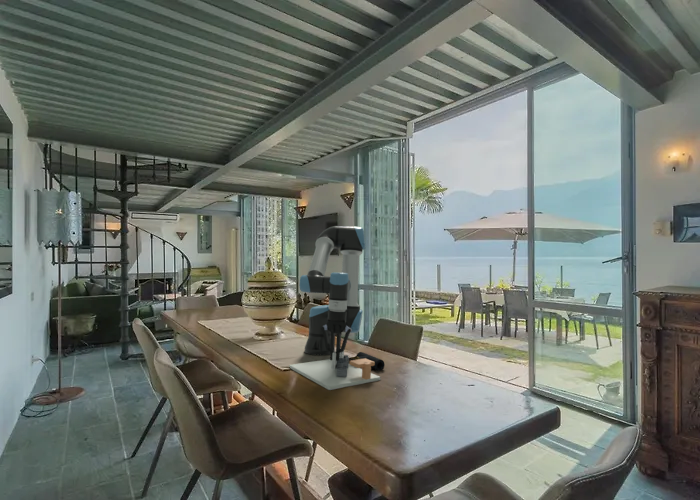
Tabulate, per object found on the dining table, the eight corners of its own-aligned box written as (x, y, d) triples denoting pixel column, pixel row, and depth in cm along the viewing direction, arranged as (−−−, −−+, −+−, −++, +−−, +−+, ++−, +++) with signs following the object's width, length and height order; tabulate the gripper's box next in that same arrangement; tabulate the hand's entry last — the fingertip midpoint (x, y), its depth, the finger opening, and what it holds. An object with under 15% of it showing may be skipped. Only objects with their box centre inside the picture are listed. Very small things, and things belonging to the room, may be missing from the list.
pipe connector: (363, 361, 160) (344, 353, 173) (362, 374, 160) (343, 365, 173) (384, 358, 167) (364, 351, 179) (384, 371, 166) (364, 362, 179)
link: (334, 364, 167) (334, 354, 167) (347, 364, 167) (348, 355, 167) (334, 376, 149) (334, 366, 149) (349, 376, 149) (349, 366, 149)
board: (335, 360, 178) (335, 358, 178) (380, 379, 152) (380, 376, 152) (289, 367, 164) (289, 364, 164) (329, 390, 138) (329, 386, 138)
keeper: (364, 375, 157) (365, 358, 157) (376, 380, 151) (376, 362, 151) (348, 378, 152) (349, 360, 152) (359, 383, 146) (360, 365, 146)
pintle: (341, 368, 165) (342, 350, 165) (344, 370, 163) (344, 351, 164) (337, 369, 164) (338, 350, 164) (340, 370, 162) (341, 351, 162)
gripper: (319, 310, 154) (316, 369, 153) (350, 312, 151) (347, 372, 151) (324, 308, 161) (321, 364, 161) (354, 310, 159) (351, 367, 158)
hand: (334, 368), depth 156 cm, fingers closed
